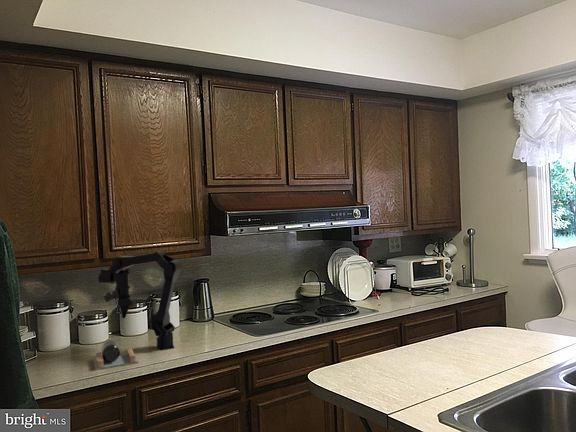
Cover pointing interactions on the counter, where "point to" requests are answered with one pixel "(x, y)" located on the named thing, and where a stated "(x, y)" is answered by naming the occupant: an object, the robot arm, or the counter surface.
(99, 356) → the cradle rails
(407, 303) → the counter surface
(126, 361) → the rubber mat
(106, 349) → the supplement bottle
